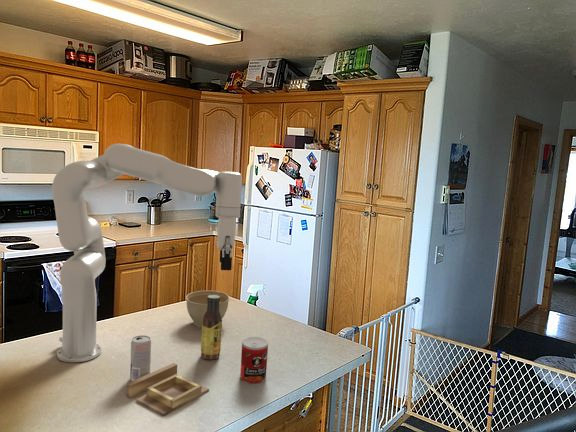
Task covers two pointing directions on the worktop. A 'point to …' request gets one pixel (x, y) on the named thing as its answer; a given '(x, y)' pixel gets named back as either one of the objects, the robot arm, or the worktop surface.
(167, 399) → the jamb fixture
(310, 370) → the worktop surface
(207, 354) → the sauce bottle
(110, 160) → the robot arm
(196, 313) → the planter bowl
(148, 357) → the energy drink
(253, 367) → the canned food
